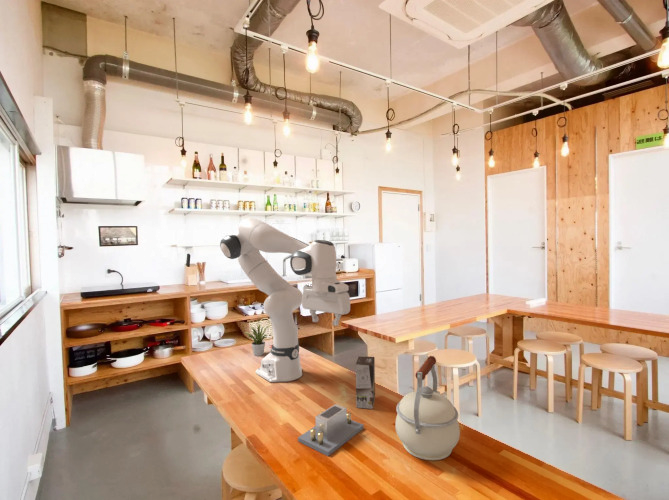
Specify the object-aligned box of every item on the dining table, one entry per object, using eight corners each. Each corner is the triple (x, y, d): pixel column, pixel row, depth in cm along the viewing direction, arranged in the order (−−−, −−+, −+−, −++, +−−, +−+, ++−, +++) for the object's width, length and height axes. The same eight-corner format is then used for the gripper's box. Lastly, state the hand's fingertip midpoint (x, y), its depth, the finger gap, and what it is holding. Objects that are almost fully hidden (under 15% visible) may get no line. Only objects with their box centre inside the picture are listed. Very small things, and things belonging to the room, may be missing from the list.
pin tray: (298, 441, 107) (297, 427, 107) (334, 416, 121) (334, 404, 121) (328, 456, 99) (327, 441, 99) (363, 428, 113) (363, 415, 113)
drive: (315, 435, 108) (315, 416, 108) (336, 421, 116) (335, 403, 115) (327, 440, 105) (326, 420, 105) (346, 426, 113) (346, 407, 113)
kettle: (452, 478, 89) (451, 383, 88) (384, 457, 98) (383, 370, 97) (467, 430, 111) (466, 353, 110) (410, 416, 120) (409, 345, 119)
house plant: (266, 347, 198) (265, 319, 197) (278, 353, 187) (277, 323, 186) (242, 353, 189) (241, 323, 188) (253, 360, 178) (252, 328, 177)
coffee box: (373, 409, 126) (372, 365, 125) (355, 407, 127) (355, 364, 126) (375, 397, 135) (375, 356, 134) (359, 396, 136) (358, 355, 135)
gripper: (297, 284, 129) (298, 321, 130) (341, 288, 116) (342, 329, 117) (309, 282, 134) (310, 318, 135) (352, 286, 121) (353, 325, 122)
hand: (325, 323), depth 126 cm, fingers open, 8 cm apart
